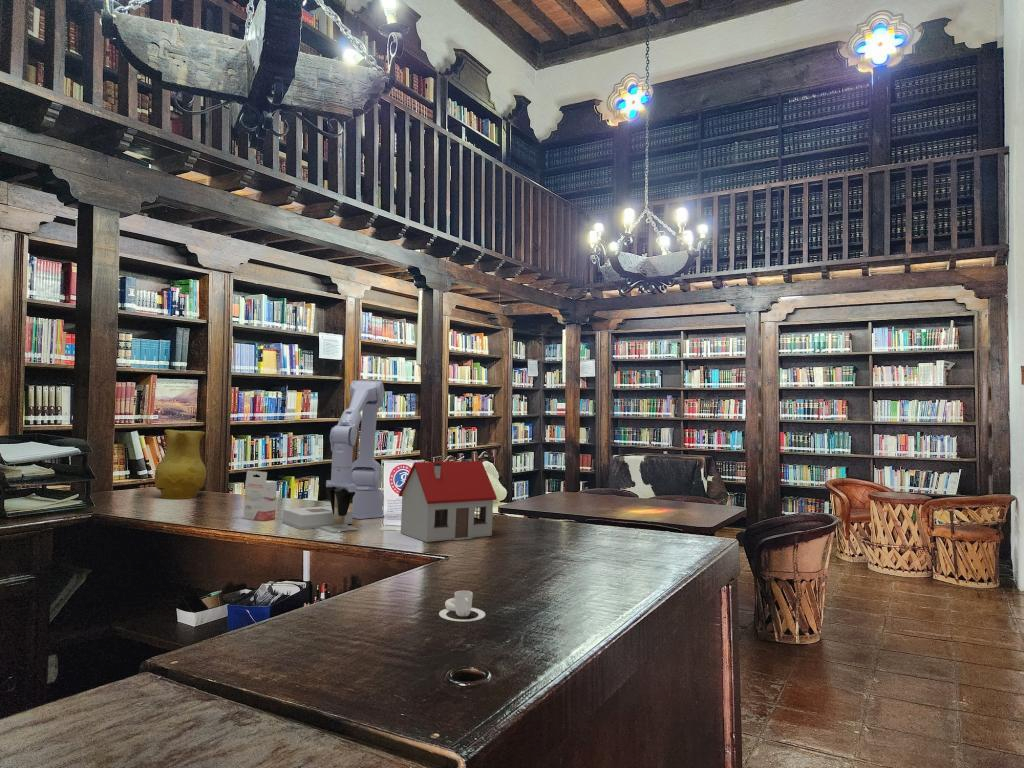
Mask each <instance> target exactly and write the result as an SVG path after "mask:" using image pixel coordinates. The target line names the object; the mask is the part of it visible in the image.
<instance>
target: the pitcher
mask: <svg viewBox="0 0 1024 768" xmlns="http://www.w3.org/2000/svg"><path fill="white" fill-rule="evenodd" d="M164 433H165V435H166V439H167V444H166V450H165V453H164V455H163V458H162V459H161V460H160V462H159V463H158V464H157V466H156V468H155V471H154V479H153V480H154V484H155V485H154V486H155V488H156V489H157V490H158V491H160V493H161V495H160V496H159V498H164V499H168V500H169V499H170V500H183V499H193V498H197V497H198V494H197V493H198V491H200V490H201V489H202V488H203V487H204V485H206V484H205V481H206V479H207V468H206V466H205V463H204V462H203V460H202V458H201V453H200V447H201V446H200V445H201V444H200V443H201V442H200V441H201V439H202V438H203V436H205V435H206V432H205V431H201V430H176V429H175V430H174V429H165V430H164Z"/></svg>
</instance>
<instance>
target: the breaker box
mask: <svg viewBox="0 0 1024 768" xmlns="http://www.w3.org/2000/svg"><path fill="white" fill-rule="evenodd" d="M281 523H282V524H285V525H288V526H290V527H293V528H296V529H299V530H310V529H312V528H313V529H319V528H320V527H323V526H333V525H334V514H333V512H332V507H331V505H327V506H312V507H300V508H296V507H295V508H285V509H283V508H282V522H281ZM344 524H345V525H348V524H352V525H353V511H352V510H349V509H348V511H347V515H346V516H345V523H344ZM344 524H343V525H344ZM348 526H349V525H348Z"/></svg>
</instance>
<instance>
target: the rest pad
mask: <svg viewBox="0 0 1024 768" xmlns="http://www.w3.org/2000/svg"><path fill="white" fill-rule="evenodd" d="M322 529H323V530H322ZM320 530H322V531H325V530H326V532H328V531H330V532H329V533H331V532H337V533H339V532H338V531H346V530H356V531H359V527H358V528H357V527H354V526H352V525H345V524H344V525H333V526H323V527H320ZM346 532H347V531H346Z"/></svg>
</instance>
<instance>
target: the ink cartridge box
mask: <svg viewBox="0 0 1024 768" xmlns="http://www.w3.org/2000/svg"><path fill="white" fill-rule="evenodd" d="M256 475H257V476H259V477H256ZM245 476H246V478H245V484H244V486H245V487H244V503H243V504H244V505H243V519H244V520H250V521H251V520H252V521H253V520H254V521H259V522H260V521H261V522H265V521H272V520H275V519H276V510H277V509H276V508H277V507H276V506H277V490H278V489H277V487H278V484H277V483H278V481H277V480H276V481H274V480H267V477H268V472H267V471H257V470H256V471H255V470H247V471H246V475H245Z"/></svg>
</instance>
